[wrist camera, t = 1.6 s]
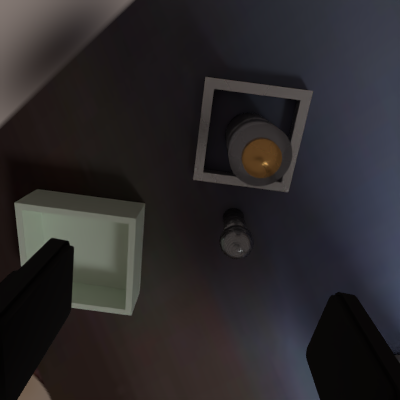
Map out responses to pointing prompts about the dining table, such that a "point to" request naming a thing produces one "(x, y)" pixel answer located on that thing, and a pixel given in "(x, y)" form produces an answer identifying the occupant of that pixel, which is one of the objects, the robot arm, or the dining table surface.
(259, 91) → the grey piece
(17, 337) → the robot arm
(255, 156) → the grey cylinder
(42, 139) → the dining table surface
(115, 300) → the bin
